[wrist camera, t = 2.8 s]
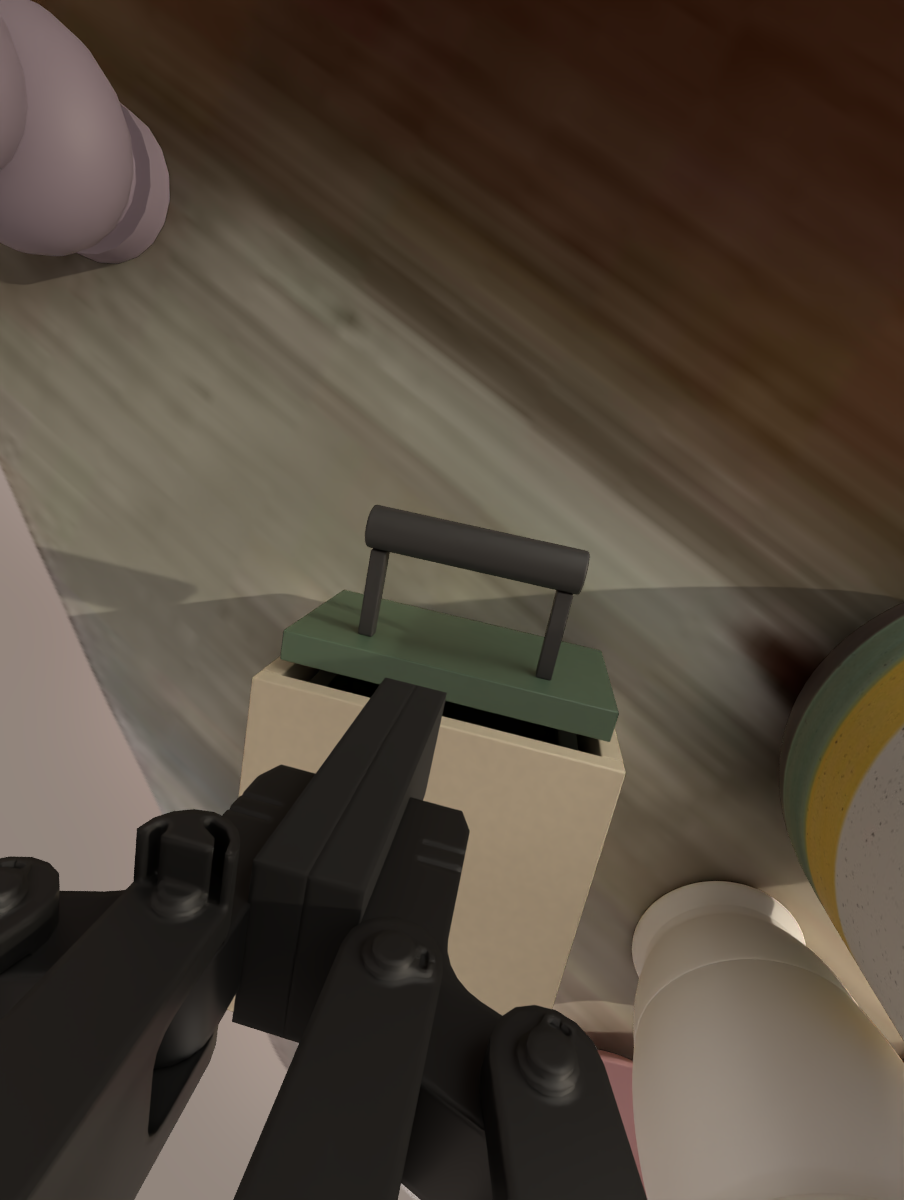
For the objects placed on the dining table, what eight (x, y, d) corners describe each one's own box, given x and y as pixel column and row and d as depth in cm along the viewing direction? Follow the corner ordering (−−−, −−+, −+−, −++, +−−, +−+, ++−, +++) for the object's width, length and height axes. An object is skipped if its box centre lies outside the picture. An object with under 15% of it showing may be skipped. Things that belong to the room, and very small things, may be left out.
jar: (709, 1059, 32) (838, 1541, 18) (569, 939, 32) (588, 1336, 18) (871, 953, 29) (1182, 1430, 15) (720, 820, 29) (892, 1179, 15)
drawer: (359, 485, 27) (300, 494, 20) (631, 544, 26) (661, 574, 19) (304, 843, 32) (243, 942, 26) (529, 906, 31) (524, 1027, 24)
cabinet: (333, 614, 30) (251, 676, 21) (603, 680, 28) (626, 772, 20) (294, 871, 34) (213, 1006, 25) (528, 939, 32) (522, 1104, 24)
